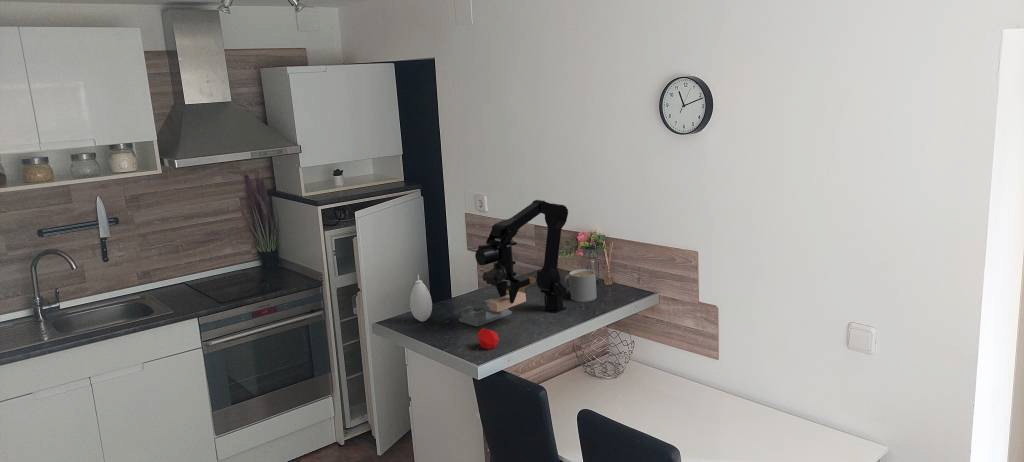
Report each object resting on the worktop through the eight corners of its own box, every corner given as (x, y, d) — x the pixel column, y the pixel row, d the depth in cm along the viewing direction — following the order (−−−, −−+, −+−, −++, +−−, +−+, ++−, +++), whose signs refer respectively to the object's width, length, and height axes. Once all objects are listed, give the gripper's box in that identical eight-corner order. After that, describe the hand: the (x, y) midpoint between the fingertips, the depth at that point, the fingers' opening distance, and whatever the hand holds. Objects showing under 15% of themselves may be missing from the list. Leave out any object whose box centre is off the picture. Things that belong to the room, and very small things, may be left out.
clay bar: (526, 301, 262) (525, 293, 261) (497, 311, 253) (496, 303, 252) (518, 299, 265) (517, 291, 264) (489, 309, 255) (488, 301, 255)
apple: (503, 332, 237) (489, 319, 242) (486, 341, 234) (472, 327, 239) (503, 347, 241) (490, 334, 246) (486, 357, 238) (473, 343, 243)
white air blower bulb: (427, 324, 266) (422, 277, 262) (408, 323, 269) (403, 276, 265) (436, 317, 273) (432, 271, 270) (418, 316, 276) (413, 270, 272)
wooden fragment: (519, 295, 294) (519, 292, 294) (495, 293, 299) (495, 291, 299) (545, 277, 316) (545, 275, 316) (523, 276, 321) (522, 274, 321)
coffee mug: (601, 297, 283) (600, 272, 281) (582, 303, 277) (581, 278, 275) (578, 290, 294) (577, 266, 291) (559, 296, 288) (558, 271, 286)
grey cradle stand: (511, 313, 272) (510, 302, 271) (477, 326, 260) (475, 314, 259) (493, 308, 279) (492, 297, 278) (459, 321, 268) (458, 309, 267)
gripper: (469, 260, 257) (473, 303, 260) (505, 268, 243) (509, 313, 246) (493, 253, 264) (496, 295, 267) (529, 260, 250) (532, 304, 254)
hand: (507, 302), depth 258 cm, fingers closed on clay bar, 4 cm apart
